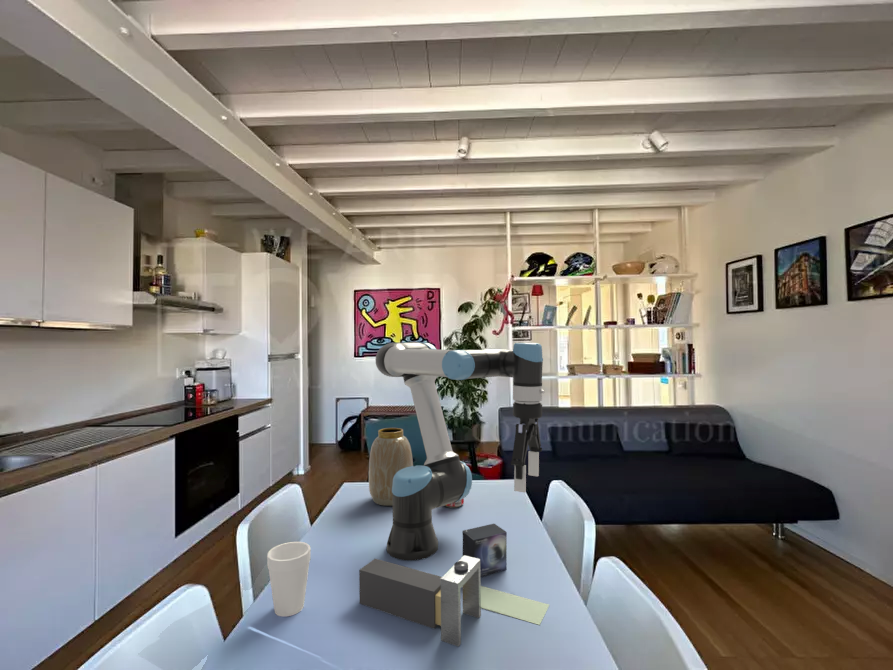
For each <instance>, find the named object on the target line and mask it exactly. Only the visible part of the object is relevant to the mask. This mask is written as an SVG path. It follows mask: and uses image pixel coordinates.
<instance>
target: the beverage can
mask: <svg viewBox="0 0 893 670" xmlns="http://www.w3.org/2000/svg"><path fill="white" fill-rule="evenodd" d="M464 503H465V498H463V499H461V500H459V501H458V502H454V503H450V504H447V505H444V506H445V507H446V508H448V509H449V508H450V509H455V508H456V509H457V508H459V507H461V506H462V505H463V504H464Z"/></svg>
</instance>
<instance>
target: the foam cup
mask: <svg viewBox="0 0 893 670" xmlns="http://www.w3.org/2000/svg"><path fill="white" fill-rule="evenodd" d="M266 557H267V560H266V561H267V563H266V567H267V568H268V573H269V574H268V575H269V582H270V588H271V594H272V596H271V597H272V602H273V610H274V614H276V616H277V617H286V618H287V617H292V616H294V615H297V614H298V613H300V612H301V611H302V610H303V609H304V605H305V600H306V591H307V584H308V577H309V568H310V563H311V562H310V561H311V559H312V558H311V545H310V544H308V543H307V542H303V541H289V542H285V543H281V544H280V543H279V544H278V545H275V546H273V547H271V549H270V550H269V551H267V555H266Z"/></svg>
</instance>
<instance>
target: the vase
mask: <svg viewBox="0 0 893 670" xmlns="http://www.w3.org/2000/svg"><path fill="white" fill-rule="evenodd" d="M377 432H378V433H377V434H378V436H377V437H376V438H375V439H374V440H373V442H372V444H371V447H370V453H369V462H368V491H369V495H370V498H372V501H373V502H374V503H375V504H376V505H380V506H385V507H386V506H388V507H389V506H392V507H393V496H392V485H393V477H394V475H395V474H396V473H397V472H398V471H399V470H401V469H403V468H406V467H410V466H414V462H413V461H414V460H413V452H412V447H411V444H410V442H409V439H408V438H407V436H405V435H404V429H403V428H400V427H399V428H398V427H385V428H381V429H378V430H377Z"/></svg>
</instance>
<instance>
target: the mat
mask: <svg viewBox="0 0 893 670" xmlns="http://www.w3.org/2000/svg"><path fill="white" fill-rule="evenodd" d="M549 608H550V604H549V603H545V602H541V601H538V600H534V599H529V598H527V597H523V596H519V595H516V594H512V593H509V592H506V591H503V590H502V591H501V590H499V589H498V590H497V589H495V588H494V589H493V588H492V587H491V588H490V587H488V586H482V585H481V610H486V611H489V612H493V613H496V614H501V615H504V616H506V617H510V618H514V619H515V620H516V619H518V620H520V621H523V622H528V623H531V624H534V625H538V626H541V623H542V621H543V620H544V618H545V615H546V613H547V611H548V609H549Z"/></svg>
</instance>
